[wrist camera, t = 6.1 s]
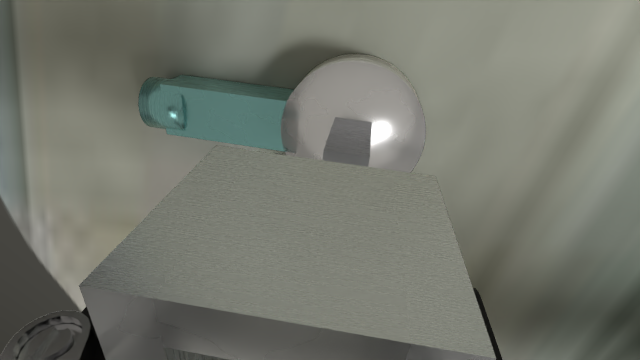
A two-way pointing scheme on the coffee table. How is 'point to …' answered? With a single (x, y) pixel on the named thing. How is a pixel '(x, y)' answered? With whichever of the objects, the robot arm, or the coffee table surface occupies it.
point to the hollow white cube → (289, 268)
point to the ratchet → (301, 113)
